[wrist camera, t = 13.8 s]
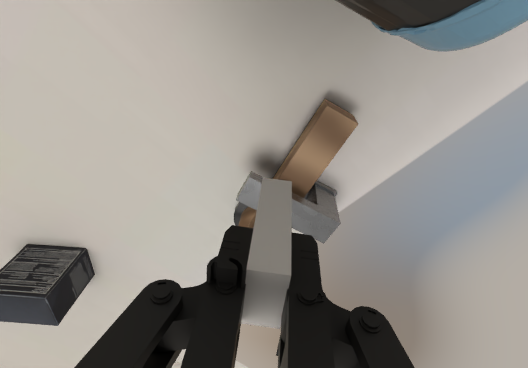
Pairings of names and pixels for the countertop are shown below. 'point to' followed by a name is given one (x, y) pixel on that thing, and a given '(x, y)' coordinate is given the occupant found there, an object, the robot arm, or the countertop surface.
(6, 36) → the countertop surface
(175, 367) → the plate stack
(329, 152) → the latch bar
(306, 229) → the keeper
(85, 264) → the small box
